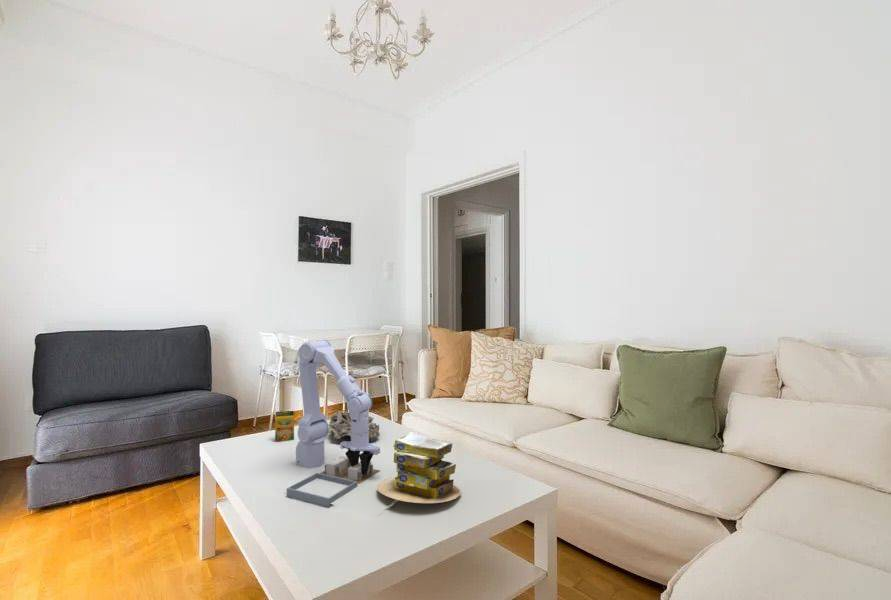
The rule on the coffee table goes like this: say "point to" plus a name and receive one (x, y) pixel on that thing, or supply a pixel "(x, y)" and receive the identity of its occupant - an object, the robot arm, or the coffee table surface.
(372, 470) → the board
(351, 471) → the marked fuse
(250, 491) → the coffee table surface
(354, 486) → the tray
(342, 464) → the block
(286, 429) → the crayon box
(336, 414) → the decorative rock
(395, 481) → the stacked boxes on plate
